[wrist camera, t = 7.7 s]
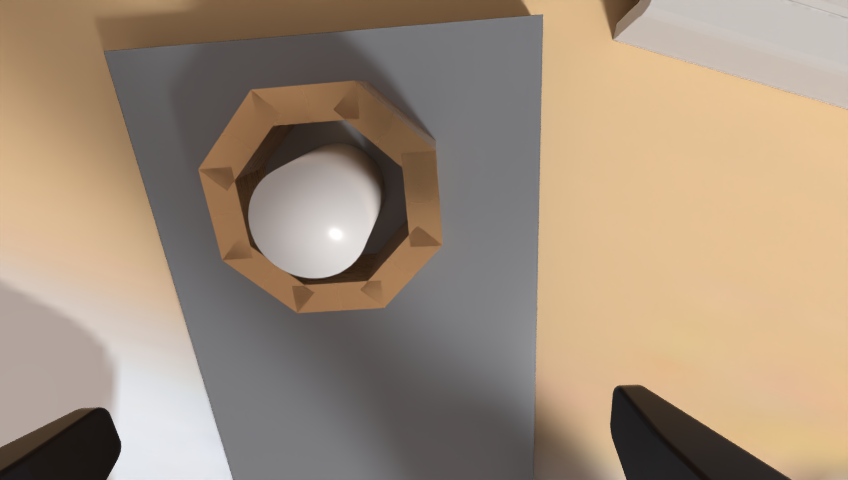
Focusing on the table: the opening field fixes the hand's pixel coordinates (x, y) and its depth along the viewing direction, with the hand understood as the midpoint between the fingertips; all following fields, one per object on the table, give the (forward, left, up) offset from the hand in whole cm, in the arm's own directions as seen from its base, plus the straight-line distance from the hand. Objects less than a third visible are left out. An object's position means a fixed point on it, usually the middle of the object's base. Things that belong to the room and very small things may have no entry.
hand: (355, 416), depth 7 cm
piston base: (-5, +2, -10) cm, 11 cm away
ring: (+2, +2, -9) cm, 9 cm away
